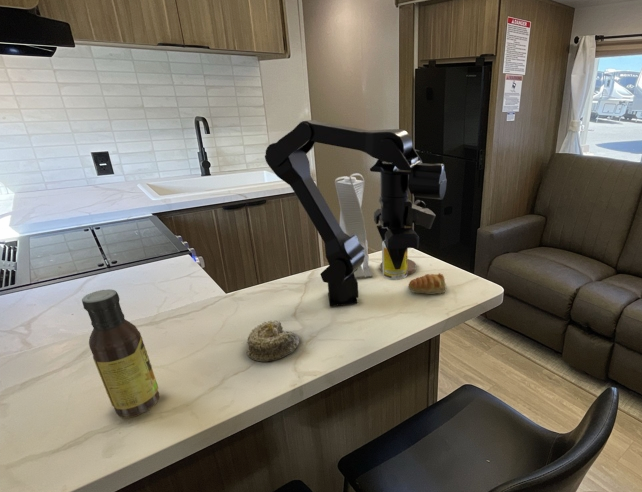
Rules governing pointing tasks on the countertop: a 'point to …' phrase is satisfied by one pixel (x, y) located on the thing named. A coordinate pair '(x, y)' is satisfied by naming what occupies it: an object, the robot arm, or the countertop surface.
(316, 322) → the countertop surface
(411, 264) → the brown round coaster
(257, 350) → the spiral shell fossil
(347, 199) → the skyscraper
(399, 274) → the supplement bottle
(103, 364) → the sauce bottle
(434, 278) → the pastry
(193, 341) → the countertop surface
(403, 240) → the robot arm
